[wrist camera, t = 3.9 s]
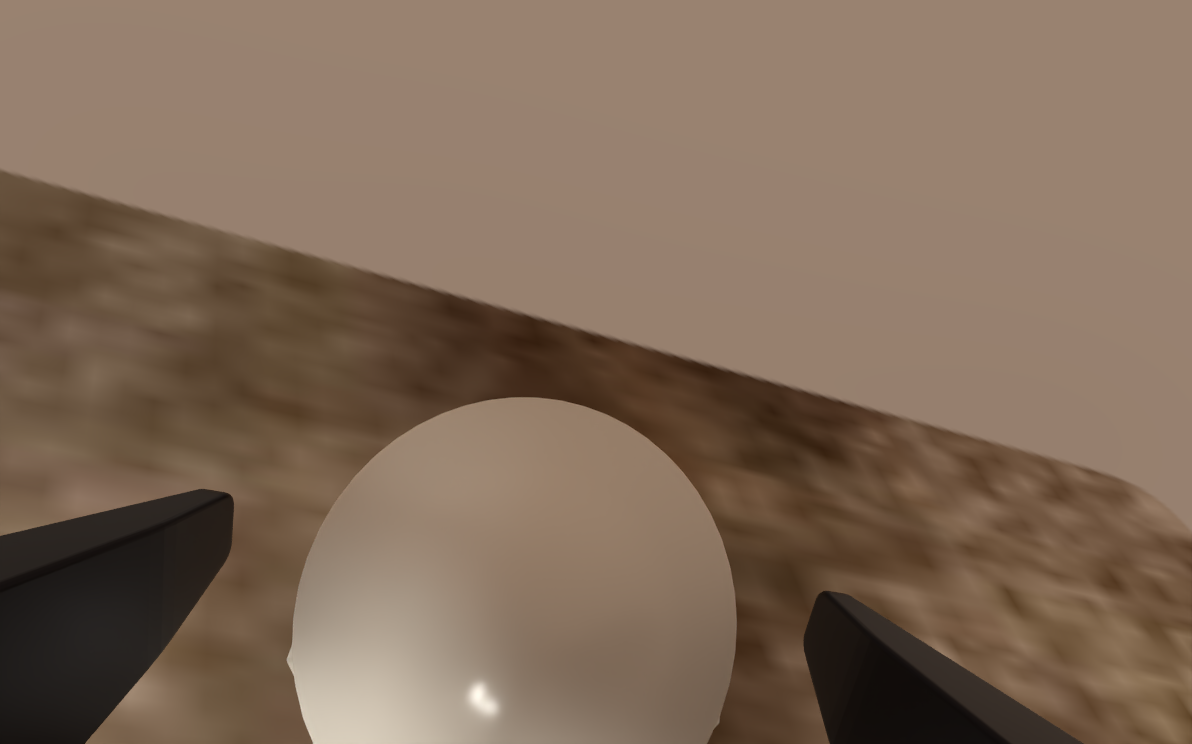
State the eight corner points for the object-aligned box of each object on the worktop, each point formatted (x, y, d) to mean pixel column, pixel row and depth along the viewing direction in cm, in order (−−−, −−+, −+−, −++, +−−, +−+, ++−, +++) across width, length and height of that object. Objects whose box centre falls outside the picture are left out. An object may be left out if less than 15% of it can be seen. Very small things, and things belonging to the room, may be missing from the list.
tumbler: (629, 551, 20) (735, 432, 11) (607, 801, 16) (738, 900, 8) (425, 517, 19) (378, 366, 11) (356, 768, 16) (202, 836, 7)
